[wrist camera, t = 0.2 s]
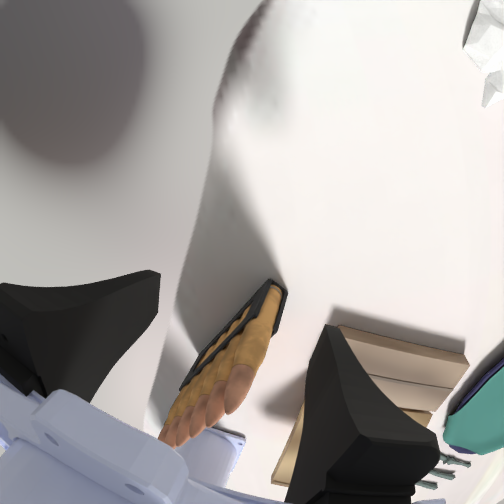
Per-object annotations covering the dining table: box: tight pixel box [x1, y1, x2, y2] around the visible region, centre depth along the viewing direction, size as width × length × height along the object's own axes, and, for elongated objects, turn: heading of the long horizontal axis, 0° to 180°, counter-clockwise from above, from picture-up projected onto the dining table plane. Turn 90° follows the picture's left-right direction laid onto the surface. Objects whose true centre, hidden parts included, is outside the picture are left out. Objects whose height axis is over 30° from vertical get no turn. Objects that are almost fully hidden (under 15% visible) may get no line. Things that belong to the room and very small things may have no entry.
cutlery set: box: [415, 358, 504, 490], centre depth 22 cm, size 20×30×2 cm, turn 151°
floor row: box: [338, 325, 470, 412], centre depth 22 cm, size 6×13×2 cm, turn 77°
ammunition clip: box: [158, 279, 288, 449], centre depth 19 cm, size 11×2×12 cm, turn 144°
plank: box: [271, 400, 433, 487], centre depth 23 cm, size 11×13×2 cm
